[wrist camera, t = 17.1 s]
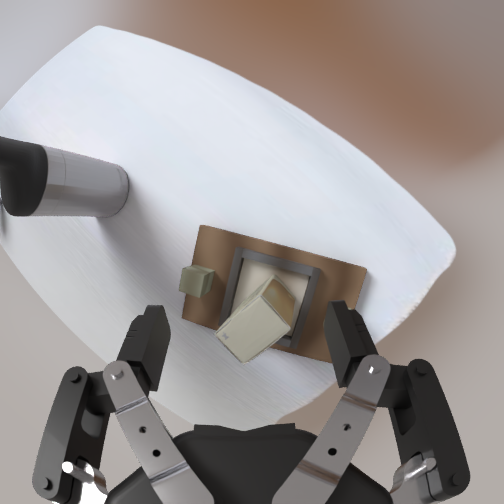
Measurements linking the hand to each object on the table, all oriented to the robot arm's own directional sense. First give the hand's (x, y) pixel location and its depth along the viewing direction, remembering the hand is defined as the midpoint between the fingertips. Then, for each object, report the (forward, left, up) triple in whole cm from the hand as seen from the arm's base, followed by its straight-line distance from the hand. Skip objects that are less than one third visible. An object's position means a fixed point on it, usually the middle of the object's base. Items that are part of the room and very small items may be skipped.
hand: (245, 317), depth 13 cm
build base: (-3, -4, -24) cm, 25 cm away
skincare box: (-3, -4, -23) cm, 24 cm away
